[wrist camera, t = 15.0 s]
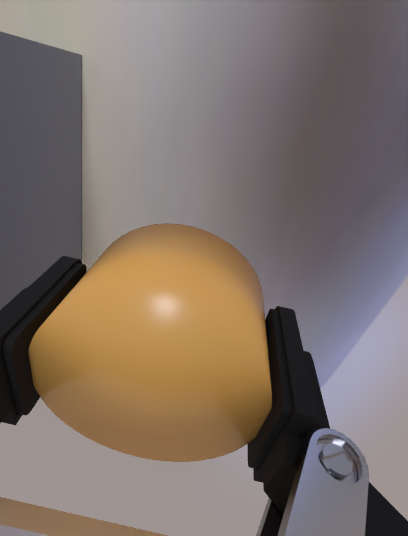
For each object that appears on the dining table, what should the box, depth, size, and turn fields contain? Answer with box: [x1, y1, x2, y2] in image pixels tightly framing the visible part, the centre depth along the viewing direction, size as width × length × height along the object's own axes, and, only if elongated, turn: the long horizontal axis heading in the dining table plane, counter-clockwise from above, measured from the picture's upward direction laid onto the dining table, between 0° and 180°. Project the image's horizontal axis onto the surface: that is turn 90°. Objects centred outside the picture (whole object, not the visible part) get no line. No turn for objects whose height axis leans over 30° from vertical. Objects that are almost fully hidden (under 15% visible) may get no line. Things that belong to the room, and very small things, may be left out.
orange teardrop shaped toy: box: [28, 224, 272, 462], centre depth 10 cm, size 6×6×4 cm
